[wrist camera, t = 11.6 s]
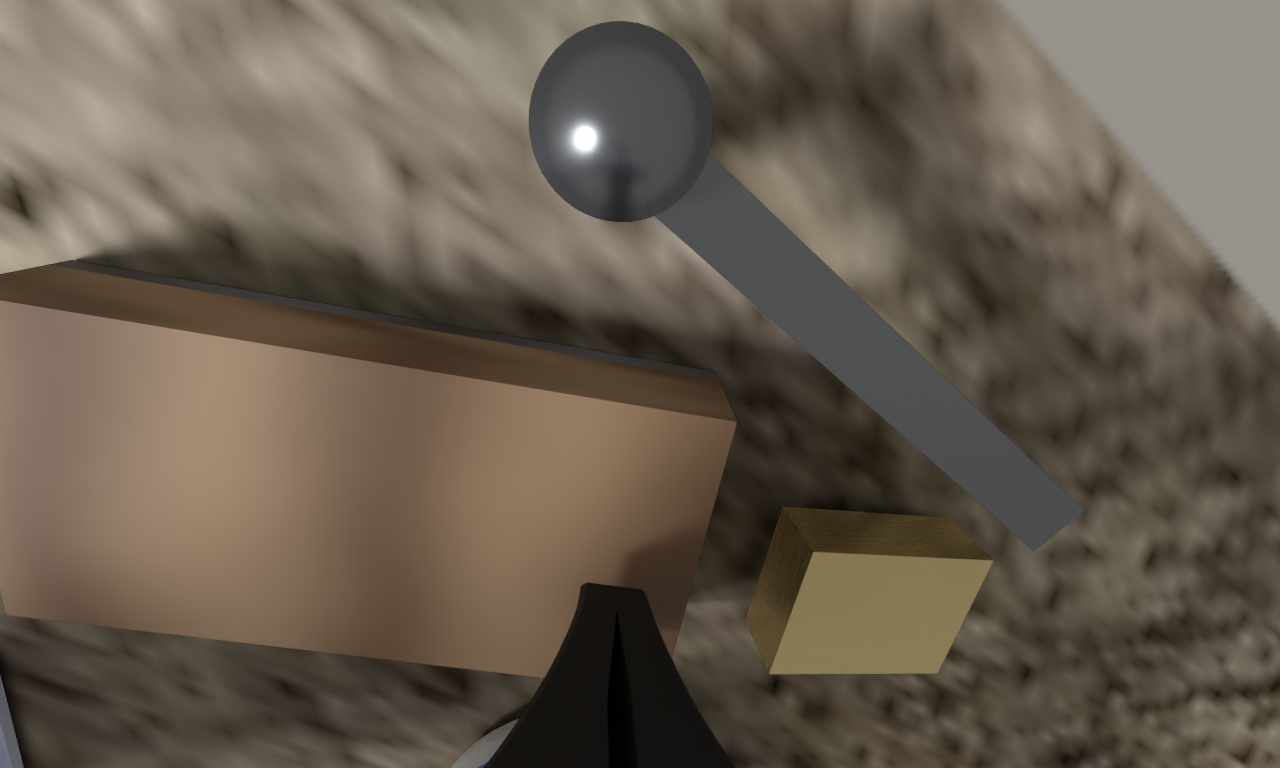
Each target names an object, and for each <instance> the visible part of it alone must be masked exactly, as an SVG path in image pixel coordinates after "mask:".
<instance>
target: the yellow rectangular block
mask: <svg viewBox="0 0 1280 768" xmlns="http://www.w3.org/2000/svg"><path fill="white" fill-rule="evenodd" d="M993 561H994V560H993V559H991V558H990V557H989V556H988V555H987V554H986V553H985V552H984V551H983V550H982V549H981V548H980V547H979V546H977V545H976V544H975V543H974V542H973V541H972V540H971V539H970V538H969V537H968V536H967V535H966V534H965V533H963V532H962V531H961V530H960V529H959V528H958V527H957V526H956V525H955V524H954V523H953V522H952V521H951V520H949V519H948V518H945V517H930V516H915V515H900V514H885V513H870V512H855V511H840V510H825V509H810V508H795V507H782V510H781V513H780V516H779V519H778V523H777V526H776V529H775V532H774V535H773V538H772V541H771V544H770V547H769V550H768V553H767V556H766V559H765V562H764V565H763V568H762V571H761V574H760V577H759V581H758V584H757V587H756V590H755V593H754V596H753V599H752V602H751V605H750V608H749V611H748V614H747V617H746V620H745V621H746V623H747V626H748V628H749V630H750V632H751V635H752V637H753V639H754V641H755V644H756V646H757V648H758V650H759V653H760V655H761V657H762V659H763V662H764V664H765V666H766V668H767V671H768V673H769V674H927V673H938V671H939V669H940V667H941V665H942V663H943V661H944V659H945V657H946V655H947V653H948V651H949V649H950V647H951V645H952V643H953V641H954V639H955V637H956V635H957V633H958V631H959V629H960V627H961V625H962V623H963V621H964V619H965V617H966V615H967V613H968V611H969V609H970V607H971V605H972V603H973V601H974V599H975V597H976V595H977V593H978V591H979V589H980V587H981V585H982V583H983V581H984V579H985V577H986V575H987V573H988V571H989V569H990V567H991V565H992V563H993Z"/></svg>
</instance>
